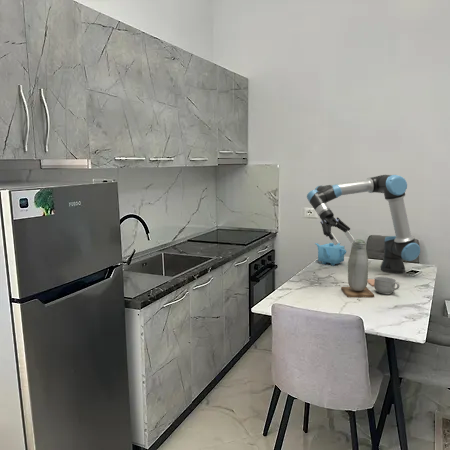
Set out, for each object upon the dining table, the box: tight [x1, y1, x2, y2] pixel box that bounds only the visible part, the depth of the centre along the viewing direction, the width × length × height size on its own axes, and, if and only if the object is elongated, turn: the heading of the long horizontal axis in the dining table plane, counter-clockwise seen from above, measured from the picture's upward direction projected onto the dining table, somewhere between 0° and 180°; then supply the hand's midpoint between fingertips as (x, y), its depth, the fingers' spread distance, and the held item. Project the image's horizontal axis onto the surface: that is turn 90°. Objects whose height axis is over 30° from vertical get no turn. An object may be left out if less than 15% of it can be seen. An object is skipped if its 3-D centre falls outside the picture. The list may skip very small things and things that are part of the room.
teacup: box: [374, 276, 401, 295], centre depth 224 cm, size 14×11×8 cm
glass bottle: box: [347, 239, 369, 291], centre depth 222 cm, size 10×10×28 cm
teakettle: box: [314, 242, 347, 267], centre depth 292 cm, size 19×19×15 cm
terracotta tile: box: [367, 278, 375, 288], centre depth 242 cm, size 12×12×1 cm
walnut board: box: [340, 286, 375, 299], centre depth 224 cm, size 14×14×2 cm
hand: (344, 242), depth 228 cm, fingers open, 13 cm apart
